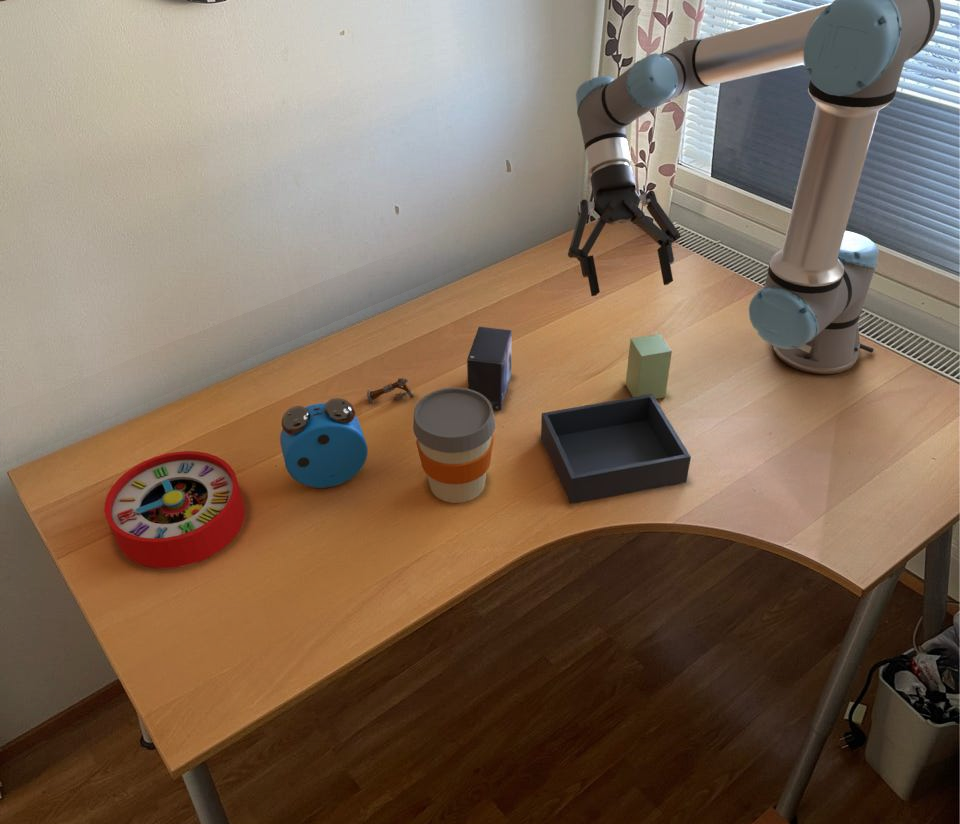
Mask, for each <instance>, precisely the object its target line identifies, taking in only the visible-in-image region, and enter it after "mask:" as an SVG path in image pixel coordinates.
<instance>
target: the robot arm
mask: <svg viewBox="0 0 960 824" xmlns="http://www.w3.org/2000/svg"><path fill="white" fill-rule="evenodd" d="M941 13H942V2H941V0H833V1H832V2H829V3H826V4H822V5H817V6H815V7H812V8H808V9H803V10H801V11H797V12H793V13H790V14H786V15H783V16H779V17H775V18H772V19H767V20H765V21H761V22H758V23H753V24H751V25H747V26H744V27H740V28H737V29H736V28H735V29H733V30H729V31H725V32H721V33H718V34H715V35H711V36H707V37H704V38H692V39H689V40H686V41H683V42H681V43H678V45H677V46H675V47H672V48H670V49H669V50H666V51H664V52H662V53H660V54H659V53H655V52H654V53H650V54H648V55H647V56H645V57H643V58H641V59H640V60H637V61H636V62H634V63H633V64H632V66H631V67H629V68H628V69H627V70H625V71H624V72H622V73H621V74H620V75H619V76H617V77H616V78H614V77H611V76H608V75H607V76H606V75H604V76H603V75H600V76H596V77H592V78H591V79H589V80H585V81H584V82H582V83H581V84H580V85H579V86H578V87H577V89H576V91H575V101H576V109H577V111H576V114H577V118H578V121H579V126H580V131H581V136H582V140H583V145H584V152H585V157H586V163H587V168H588V173H589V174H590V178H589V180H590V185H591V190H592V191H591V192H592V196H593V201H588V200H587V199H581V201H580V202H579V204H578V205H577V220H576V223H575V226H574V231H573V234H572V237H571V241H570V245H569V247H568V251H567V257H568V258H570V259H573V258H574V259H576V260H578V262H579V264H580V270H581V275H582V277H583V278H587V279H588V284H589V290H590V294H591V297H596V296H597V295H598V294H599V293H600V292H601V291H600V286H599V285H600V284H599V280H598V275H597V269H596V264H595V259H594V255H589V254H590V252H591V250H592V249H593V247H594V245H595V243H596V242H597V239H598V238H599V236H600V234H601V233H602V231H603V229H604V227H605V226H606V224H608V225H609V226H614V225H616V224H627V223H628V222H631V223H632V224H633V225H636V226H637V227H638V228H639V229H641V230H642V231H643V232H644V233H645V234H646V235H647V236H648V237H650V238H651V239H652V240H653V242H655V243H657V245H659V247H658V248H657V255H658V261H659V266H660V267H659V268H660V271H661V278H662V283H663V286H668V285H670V284H671V283H672V282H673V281H674V279H673V272H672V267H671V265H672V264H673V263H674V261H675V257H674V251H673V246H672V245H673V244H674V243H676V242H677V241H678V240H679V239H680V238H681V233H680V231H679V230H678V229H677V227H676V226H675V225H674V224H673V222H672V220H671V218H669V216H668V215H667V213H666V212H665V211H664V209H663V208H662V206H661V205H660V204H659V202H658V199H657V196H656V193H655V191H654V190H653V189H651V190H649V191H648V192H647V193H643V194H640V195H639V194H638V192H637V187H636V181H635V175H634V170H633V167H632V166H631V163H632V159H631V153H630V148H629V143H628V138H627V137H628V136H627V132H626V127H627V126H628V125H630V124H632V123H633V122H634V121H636V120H638V119H639V118H641V117H642V116H644V115H645V114H647V113H649V112H651V111H652V110H654V109H656V108H658V107H660V106H662V105H664V104H666V103H668V102H670V101H672V100H673V99H675V98H678V97H679V96H681V95H683V94H685V93H688V92H690V91H691V92H692V91H694V90H698V89H702V88H707V87H710V86H713V85H719V84H723V83H726V82H727V83H728V82H731V81H736V80H740V79H744V78H748V77H749V78H750V77H752V76H758V75H762V74H766V73H771V72H775V71H780V70H785V69H789V68H793V67H799V66H802V65H804V68H805V70H806V71H807V72H808V79H809V84H808V89H807V93H808V95H809V96H810V97H811V99H812V101H813V102H814V103H815V108H814V111H813V117H812V120H811V125H810V129H809V134H808V138H807V141H806V147H805V149H804V155H803V159H802V163H801V168H800V171H799V172H800V173H799V176H798V181H797V185H796V190H795V194H794V199H793V203H792V208H791V212H790V216H789V220H788V225H787V229H786V233H785V237H784V241H783V246H782V249H781V250H779V251H777V252H775V254H773V255H772V256H771V259H770V260H769V261H770V262H769V265H768V269H767V274H766V279H765V283H764V285H763V288H760V289H759V290H757V291H756V292H755V294H754V295H753V297H752V298H751V300H750V302H749V306H748V317H749V321H750V323H751V325H752V328H753V329H755V331H757V335H758V336H759V337H760V338H761V339H762V340H763V341H765V342H766V343H767V344H769V345H771V346H773V350H774V354H775V355H776V356H777V357H778V358H779V359H780V360H781V361H782V362H783V363H785V364H786V365H788V366H789V367H791V368H793V369H796V370H798V371H800V372H803V373H808V374H813V375H834V374H839V373H842V372H845V371H848V370H849V369H851V368H852V367H853V366H854V365H856V363H857V361H858V358H859V355H860V349H861V350H863V351H866V352H868V353H871V354H872V353H873V352H874V350H875V349H874V348H873V347H872V346H871V347H870V346H869V345H866V344H864V343H861V341H860V340H861V339H860V327H859V319H860V316H861V313H862V311H863V307H864V304H865V301H866V299H867V295H868V291H869V289H870V285H871V282H872V279H873V276H874V272H875V269H877V267H878V264H877V263H878V258H879V254H880V252H879V248H878V246H877V245H876V243H874V241H873V240H871V239H870V238H868V237H867V236H864V235H862V234H859V233H857V232H853V231H848V230H846V229H847V227H848V222H849V218H850V215H851V212H852V208H853V204H854V202H855V201H854V200H855V198H856V194H857V190H858V187H859V183H860V179H861V176H862V171H863V169H864V165H865V161H866V157H867V155H868V150H869V147H870V143H871V139H872V136H873V133H874V129H875V125H876V122H877V119H878V115H879V111H881V110H882V109H884V108H885V107H887V106H888V105H890V104H891V103H892V102H893V101H894V99H895V96H896V93H897V89H898V87H899V83H900V79H901V76H902V73H903V69H904V65H905V63H906V62H907V61H909V60H910V59H911V58H914V57H915V56H916V55H918V54H919V53H920V52H921V51H922V50H924V48H925V47H927V45H928V44H929V43H930V41H932V38H933V37H934V35H935V33H936V31H937V29H938V27H939V23H940V20H941V16H942V15H941ZM640 204H642V206H643V207H645V208H646V210H647V211H648V213H649V214H650V216H651V217H652V219H653V220H654V222H653V221H652V220H651V219H650V218H648V216H647V215H645V212H644V211H643V210H641V208H640V207H639V205H640ZM592 210H593V211H594V212H595V213H596V214H597V215H598V216H599V218H598V220H597V221H596V223H595V225H594V227H593V229H592V231H591V232H590V234H589V236H588V238H587V239H586V241H585V243H584V245H583V246H582V249H580V245H581V241H582V238H583V235H584V231H585V227H586V224H587V221H588V216H589V215H590V214H591V212H592ZM655 223H656V224H655Z"/></svg>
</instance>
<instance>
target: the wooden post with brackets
mask: <svg viewBox="0 0 960 824" xmlns="http://www.w3.org/2000/svg"><path fill="white" fill-rule="evenodd" d="M408 382H409V378H407V377H402V378H401V377H399V378H397V381H394V382H393V383H392V382H391V383H388V384H387V385H385V386H383V387H382V388H379V389H375V390H370V389H367V391H366V398H367V399H368V400H369V401H370V403H371V404H373V403H375V402H374V401H375V399H377V398H379V397H380V396H382V395H384V394H388V393H390V392H392V391H395V389H399V390H403V391H404V392H402V391H400V392H399V393H395V396H393V400H394V401H395V400H397V401H399V400H401V399H402V400H404V397H405V396H407V395H408V396H409V398H411V399H412V398H414V393H413V392H412V390H411V389H410V387H408V385H407V383H408Z"/></svg>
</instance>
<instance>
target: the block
mask: <svg viewBox="0 0 960 824" xmlns="http://www.w3.org/2000/svg"><path fill="white" fill-rule="evenodd" d="M672 353H673V351H672V349H671V348H670V346H669V345H668V343H667V342H666V340H665V339H664V338H663V336H662V335H661V333H655V334H650V335H644V336H638V337H631V338H630V340H629V349H628V356H627V357H628V359H627V368H626V376H625V386H626V388H627V390H628V391H629V393H630V394H631V396H632V397H637V396H643V395H648V394H653V395H654V397H655V399H656V400H657V399H658V400H659V399H663V398H666V393H667V386H668V380H669V374H670V373H669V372H670V367H671V359H672Z"/></svg>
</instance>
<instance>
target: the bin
mask: <svg viewBox="0 0 960 824" xmlns="http://www.w3.org/2000/svg"><path fill="white" fill-rule="evenodd" d="M540 421H541V423H540V440H541V442H542V444H543V446H544V448H545V451H546V453H547V456H548V458H549V460H550V462H551V465H552V467H553V469H554V472H555V474H556V476H557V478H558V479H559V483H560V485H561V487H562V490H563V492H564V494H565V497H566V498H567V501H568V503H569V505H574V504H579V503H585V502H589V501H590V502H591V501H596V500H601V499H605V498H611V497H612V498H613V497H616V496H621V495H622V496H623V495H627V494H633V493H637V492H642V491H648V490H653V489H659V488H665V487H669V486H675V485H679V484H680V485H681V484H684V483H685V484H686V483H687V481H688V475H689V470H690V464H691V458H692V456H691V455H690V453H689V451H688V449H687V447H685V444H684V443H683V441H682V440H681V438H680V437H679V435H678V433H677V432H676V430H675V428H674V427H673V425H672V423H671V422H670V420H669V418H668V417H667V415H666V413H665V412H664V410H663V409H662V407H661V405H660V404H659V402H658V400H657V399H655V397H654V395H653V394H648V395H643V396H637V397H633V396H632V397H627V398H620V399H615V400H609V401H603V402H597V403H591V404H587V405H581V406H574V407H568V408H563V409H557V410H551V411H547V412H541V419H540Z"/></svg>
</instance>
